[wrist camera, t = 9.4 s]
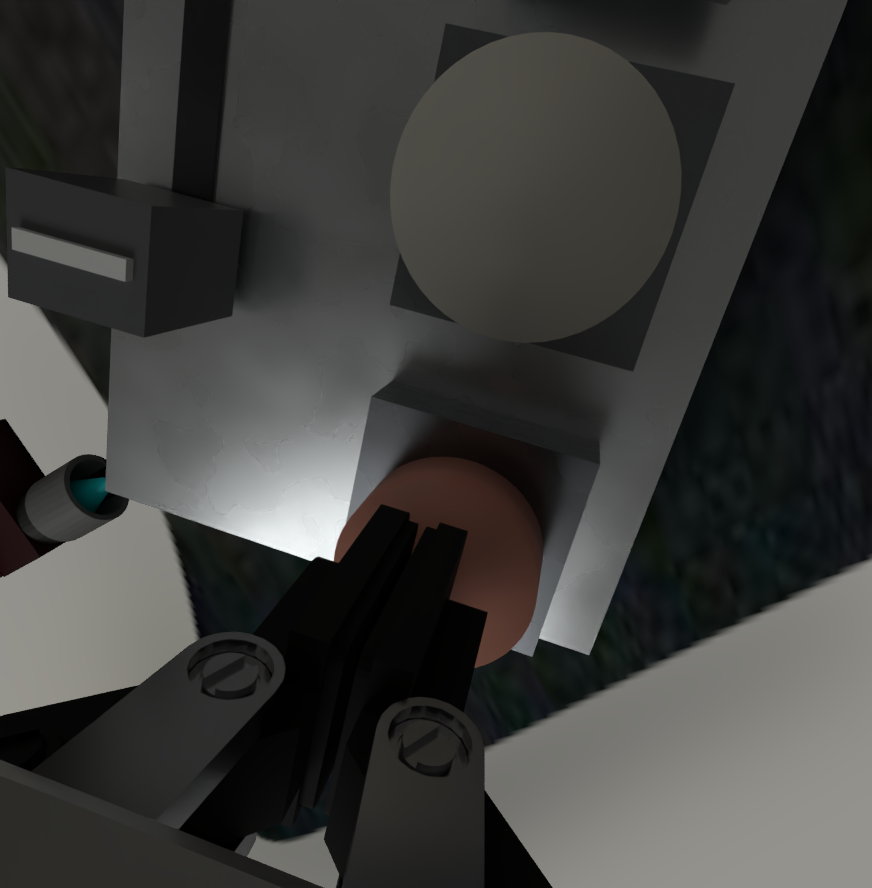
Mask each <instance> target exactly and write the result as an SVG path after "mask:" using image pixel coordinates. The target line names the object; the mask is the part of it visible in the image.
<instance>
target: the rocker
mask: <svg viewBox="0 0 872 888" xmlns="http://www.w3.org/2000/svg"><path fill="white" fill-rule="evenodd" d="M702 1H708V2H713V3H718V4H723V5H727V4H728V3H729V2H730V1H731V0H702Z"/></svg>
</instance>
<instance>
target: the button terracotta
mask: <svg viewBox="0 0 872 888" xmlns="http://www.w3.org/2000/svg"><path fill="white" fill-rule="evenodd" d="M381 504H384V505H387V506H390V507H393V508H396V509H399V510H403V511H406V512H409V513H410V519H409V521H412V522H415V523H418V530H417V534H416V538H415V542H414V546H413V550H412V553H413V551H414V549H415V547H416V545H417V544H418V542H419V540H420V538H421V536H422V534H423V532H424V530H425V528H426V527H427V526H428V527H431V528H434V529H437V527H438V525H439V523H440V522H441V523H444V524H447V525H450V526H454V527H457V528H460V529H463V530H466V531H468V534H467V538H466V542H465V546H464V549H463V553H462V556H461V560H460V563H459V567H458V570H457V574H456V577H455V581H454V585H453V588H452V592H451V595H450V600H453V601H456V602H459V603H462V604H465V605H468V606H471V607H474V608H477V609H480V610H483V611H486V612H488V614H487V619H486V623H485V627H484V631H483V635H482V639H481V643H480V647H479V651H478V655H477V659H476V663H475V667H474V668H476V667H479V666H483V665H485V664H488V663H490V662H492V661H494V660H496V659H498V658H499V657H501V656H503V655H504V654H506V653H507V652H508V651H509V650H510V649H512V648H513V647H514V646H515V645H516V644H517V643H518V641H519V640H520V639H521V638H522V637H523V635H524V633H525V632H526V630H527V629H528V627H529V625H530V622H531V620H532V618H533V615H534V611H535V607H536V602H537V595H538V588H539V582H540V575H541V568H542V561H543V539H542V534H541V529H540V526H539V523H538V520H537V518H536V516H535V514H534V512H533V510H532V508H531V506H530V505H529V503H528V502H527V500H526V499H525V497H524V496H523V495H522V494H521V493H520V491H519V490H518V489H517V488H516V487H515V486H514V485H513V484H512V483H510V482H509V481H508V480H507V479H506V478H504V477H503V476H501V475H500V474H498V473H497V472H495V471H494V470H492V469H490V468H488V467H486V466H484V465H481V464H478V463H476V462H473V461H470V460H465V459H461V458H455V457H430V458H423V459H419V460H416V461H412V462H409V463H407V464H405V465H403V466H400V467H399V468H397V469H395V470H394V471H392V472H391V473H390V474H388V475H387V476H386V477H385V478H384V479H382V481H381V482H380V483H379V484H378V485H377V486H376V487H375V489H374V490H373V491H372V492H371V493H370V494H369V496H368V497H367V498H366V499H365V500H364V502H363V503H362V504H361V505H360V506H359V508H358V509H357V510H356V511H355V512H354V514H353V515H352V516H351V517H350V518H349V520H348V521H347V523H346V524H345V526H344V528H343V529H342V531H341V534H340V536H339V538H338V541H337V545H336V548H335V554H334V562H337V563H339V562H340V560H341V559H342V557H343V556H344V555H345V553H346V552H347V551H348V549H349V548H350V546H351V545H352V544H353V542H354V541H355V539H356V538H357V537H358V535H359V534H360V533H361V531H362V530H363V528H364V527H365V526H366V524H367V523H368V522H369V520H370V519H371V517H372V516H373V515H374V513H375V512H376V510H377V509H378V508H379V506H380V505H381ZM411 555H412V554H411Z"/></svg>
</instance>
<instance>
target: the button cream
mask: <svg viewBox="0 0 872 888" xmlns="http://www.w3.org/2000/svg"><path fill="white" fill-rule="evenodd" d="M680 196H681V162H680V153H679V147H678V143H677V139H676V135H675V131H674V128H673V125H672V123H671V120H670V118H669V115H668V113H667V111H666V108H665V107H664V105H663V103H662V102H661V100H660V98H659V96H658V95H657V93H656V91H655V90H654V89H653V87H652V86H651V85H650V84H649V82H648V81H647V80H646V79H645V77H644V76H643V75H642V74H641V73H640V72H639V71H638V70H637V69H636V68H635V67H633V66H632V65H631V64H630V63H629V62H628V61H627V60H625V59H624V58H623V57H621V56H620V55H618V54H617V53H615V52H614V51H612V50H611V49H609V48H607V47H604V46H602V45H600V44H598V43H596V42H594V41H592V40H588V39H585V38H581V37H578V36H574V35H570V34H563V33H555V32H534V33H525V34H520V35H514V36H509V37H506V38H503V39H500V40H497V41H494V42H491V43H489V44H487V45H485V46H483V47H481V48H479V49H477V50H475V51H473V52H471V53H469V54H468V55H466V56H465V57H464V58H462V59H461V60H459V61H458V62H456V63H455V64H454V65H452V66H451V67H450V68H449V69H448V70H447V71H446V72H444V73H443V74H442V75H441V76H440V77H439V78H438V79H437V80H436V81H435V82H434V84H433V85H432V86H431V87H430V88H429V89H428V90H427V92H426V93H425V94H424V96H423V97H422V99H421V100H420V102H419V103H418V104H417V106H416V107H415V109H414V111H413V112H412V114H411V116H410V118H409V120H408V122H407V124H406V126H405V128H404V131H403V133H402V136H401V139H400V141H399V144H398V147H397V151H396V155H395V159H394V163H393V168H392V176H391V183H390V209H391V218H392V225H393V230H394V234H395V238H396V242H397V245H398V248H399V251H400V253H401V256H402V259H403V261H404V263H405V265H406V267H407V269H408V271H409V273H410V275H411V276H412V278H413V279H414V281H415V282H416V284H417V285H418V287H419V288H420V290H421V291H422V292H423V293H424V294H425V296H426V297H427V298H428V299H429V300H430V301H431V302H432V304H434V305H435V306H436V307H437V308H438V309H439V310H440V311H442V312H443V313H444V314H445V315H446V316H448V317H449V318H451V319H452V320H454V321H455V322H457V323H458V324H460V325H461V326H463V327H465V328H467V329H469V330H471V331H473V332H475V333H478V334H481V335H484V336H487V337H490V338H494V339H498V340H503V341H508V342H521V343H532V342H546V341H551V340H556V339H562V338H565V337H568V336H571V335H574V334H577V333H580V332H582V331H584V330H586V329H588V328H591V327H593V326H595V325H597V324H598V323H600V322H601V321H603V320H605V319H606V318H608V317H609V316H611V315H613V314H614V313H615V312H616V311H617V310H619V309H620V308H621V307H622V306H624V305H625V304H626V303H627V302H628V301H629V300H630V299H631V298H632V297H633V296H634V295H635V294H636V293H637V292H638V291H639V290H640V289H641V288H642V286H643V285H644V284H645V282H646V281H647V280H648V278H649V277H650V276H651V274H652V273H653V272H654V270H655V268H656V266H657V265H658V263H659V261H660V259H661V258H662V256H663V254H664V252H665V250H666V247H667V245H668V243H669V240H670V238H671V235H672V233H673V229H674V225H675V222H676V218H677V215H678V209H679V202H680Z"/></svg>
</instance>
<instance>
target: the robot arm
mask: <svg viewBox="0 0 872 888" xmlns="http://www.w3.org/2000/svg"><path fill="white" fill-rule="evenodd" d="M409 519H410V513H409V512H406V511H403V510H399V509H396V508H393V507H390V506H387V505H384V504H381V505H380V506H379V508H378V509H377V510H376V512H375V513H374V515H373V516H372V517H371V519H370V520H369V522H368V523H367V524H366V526H365V527H364V528H363V530H362V531H361V533H360V534H359V535H358V537H357V538H356V539H355V541H354V542H353V544H352V545H351V546H350V548H349V549H348V551H347V552H346V553H345V555H344V556H343V557H342V559H341V560H340V562H339V563H337V562H334V561H331V560H328V559H325V558H322V557H316V558H315V559H313V560H312V562H311V563H310V564H309V565H308V566H307V568H306V569H305V570H304V571H303V573H302V574H301V575H300V576H299V578H298V579H297V580H296V581H295V583H294V584H293V585H292V586H291V588H290V589H289V590H288V591H287V593H286V594H285V595H284V596H283V598H282V599H281V600H280V601H279V602H278V604H277V605H276V606H275V607H274V609H273V610H272V611H271V612H270V614H269V615H268V616H267V617H266V619H265V620H264V621H263V622H262V624H261V625H260V626H259V627H258V629H257V630H256V631H255V632H254V633H253V635H252V634H248V633H239V632H226V633H217V634H213V635H210V636H207V637H204V638H201V639H199V640H198V641H196V642H194V643H193V644H191V645H189V646H188V647H187V648H186V649H184V650H183V651H182V652H180V653H179V654H178V655H177V656H175V657H174V658H173V659H172V660H170V661H169V662H168V663H167V664H165V665H164V666H163V667H162V668H160V669H159V670H158V671H157V672H155V673H154V674H153V675H151V676H150V677H149V678H148V679H146V680H145V681H144V682H143V683H141V684H140V685H138V686H133V687H129V688H124V689H120V690H115V691H110V692H106V693H101V694H97V695H93V696H88V697H83V698H79V699H75V700H70V701H66V702H61V703H56V704H52V705H47V706H43V707H39V708H34V709H29V710H25V711H21V712H16V713H11V714H7V715H3V716H0V888H323V887H321V886H318V885H315V884H313V883H311V882H308V881H305V880H303V879H301V878H298V877H296V876H293V875H291V874H288V873H286V872H283V871H280V870H278V869H275V868H273V867H270V866H268V865H266V864H263V863H260V862H258V861H255V860H253V859H250V858H248V857H247V855H248V854H249V852H250V850H251V848H252V846H253V844H254V842H255V840H256V835H257V832H259V831H261V830H264V829H267V828H269V827H272V826H274V825H277V824H283V825H285V826H288V827H290V828H292V826H293V824H294V822H295V820H296V818H297V816H298V814H299V812H300V809H301V807H302V805H303V806H306V807H309V808H311V809H314V808H315V806H316V805H317V803H318V801H319V799H320V796H321V794H322V792H323V790H324V788H325V786H326V783H327V781H328V779H329V777H330V775H331V772H332V770H333V774H332V778H331V782H330V787H329V791H328V796H327V800H326V804H325V809H324V814H327V815H329V820H328V824H327V828H326V832H325V837H324V840H325V843H326V845H327V847H328V849H329V852H330V854H331V856H332V859H333V861H334V863H335V865H336V867H337V870H338V872H339V878H338V881H337V885H336V888H552V886H551V885H550V883H549V882H548V880H547V879H546V878H545V876H544V875H543V873H542V872H541V870H540V869H539V868H538V866H537V865H536V863H535V862H534V860H533V859H532V858H531V856H530V855H529V853H528V852H527V850H526V849H525V847H524V846H523V845H522V843H521V842H520V840H519V839H518V837H517V836H516V834H515V833H514V832H513V830H512V829H511V827H510V826H509V824H508V823H507V822H506V820H505V819H504V817H503V816H502V814H501V813H500V811H499V810H498V809H497V807H496V806H495V804H494V803H493V801H492V800H491V799H490V797H489V796H488V794H487V793H486V791H485V790H484V746H483V741H482V737H481V735H480V733H479V731H478V729H477V727H476V726H475V724H474V723H473V722H472V721H471V720H470V719H469V718H468V717H467V716H466V715H465V714H464V713H463V712H464V708H465V704H466V700H467V696H468V692H469V688H470V684H471V679H472V675H473V671H474V667H475V663H476V659H477V655H478V651H479V647H480V643H481V639H482V635H483V631H484V627H485V623H486V619H487V614H488V612H486V611H483V610H480V609H477V608H474V607H471V606H468V605H465V604H462V603H459V602H456V601H453V600H450V595H451V592H452V588H453V585H454V581H455V577H456V574H457V570H458V567H459V563H460V560H461V556H462V553H463V549H464V546H465V542H466V538H467V534H468V531H466V530H463V529H460V528H457V527H454V526H450V525H447V524H444V523H441V522H440V523H439V525H438V527H437V529H434V528H431V527H428V526H427V527H426V528H425V530H424V532H423V534H422V536H421V538H420V540H419V542H418V544H417V545H416V547H415V549H414V551H413V553H412V550H413V546H414V542H415V538H416V534H417V530H418V523H415V522H412V521H409ZM411 554H412V555H411ZM333 768H334V769H333Z"/></svg>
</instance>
